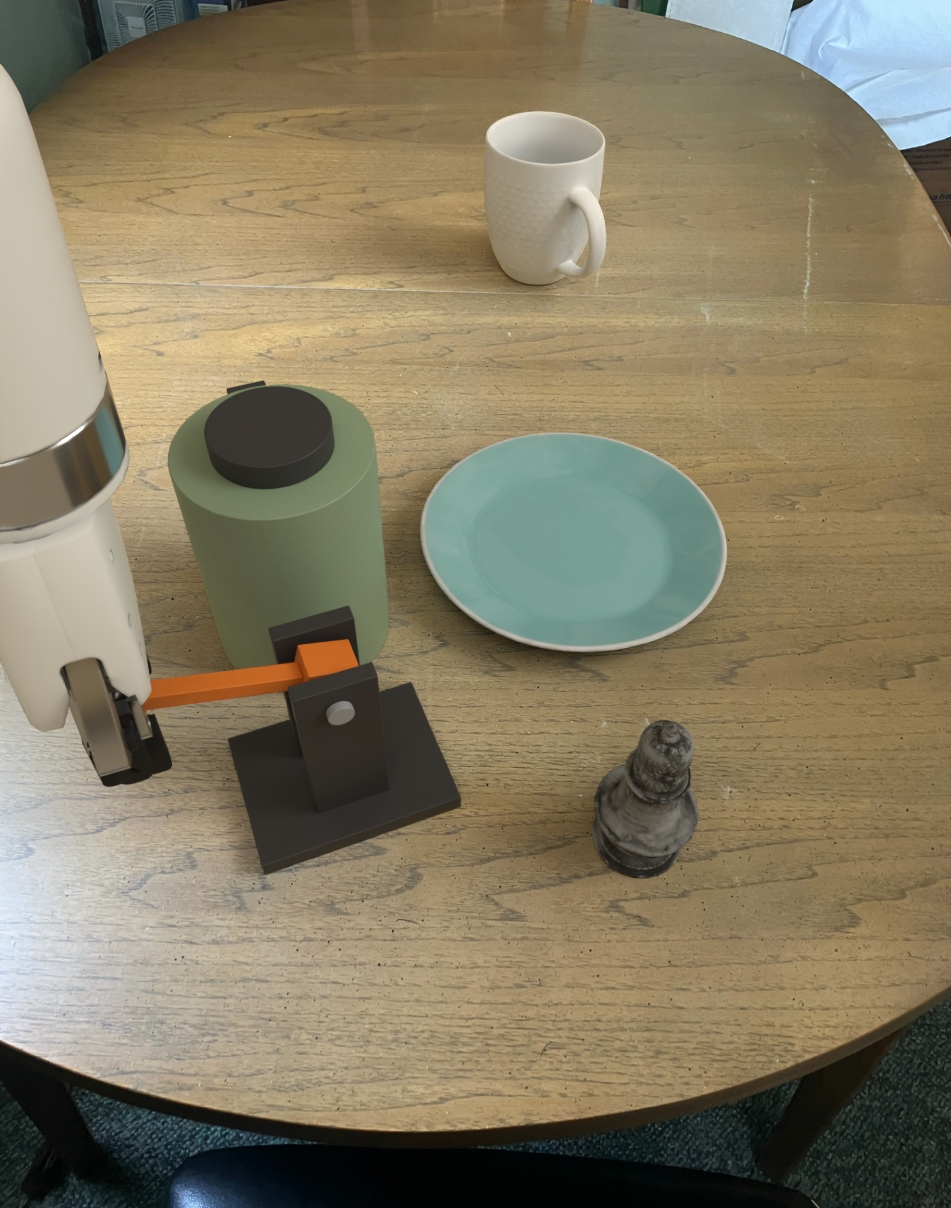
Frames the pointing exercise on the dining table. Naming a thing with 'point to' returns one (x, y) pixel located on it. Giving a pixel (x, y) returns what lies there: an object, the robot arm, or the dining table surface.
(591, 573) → the plate
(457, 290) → the dining table surface
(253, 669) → the orange pivot lever
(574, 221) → the mug
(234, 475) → the green canister
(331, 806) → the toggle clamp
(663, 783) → the chess piece
